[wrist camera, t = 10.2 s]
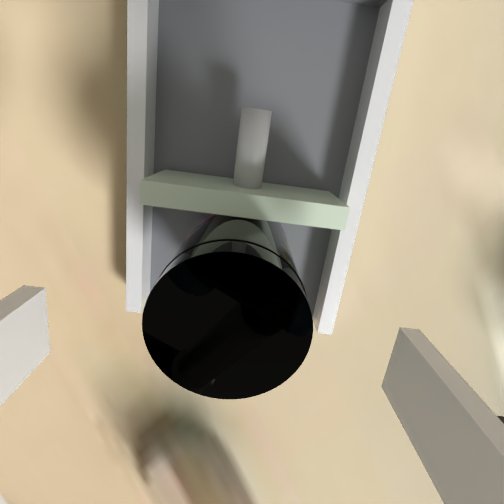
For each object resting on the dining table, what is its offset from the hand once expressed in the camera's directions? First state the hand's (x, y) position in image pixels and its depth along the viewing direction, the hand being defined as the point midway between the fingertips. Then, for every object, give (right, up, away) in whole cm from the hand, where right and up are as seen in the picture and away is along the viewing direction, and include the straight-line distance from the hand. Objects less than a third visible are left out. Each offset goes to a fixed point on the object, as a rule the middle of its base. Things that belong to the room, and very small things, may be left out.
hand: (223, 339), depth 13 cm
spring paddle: (+1, +9, +8) cm, 12 cm away
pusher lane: (+1, +10, +9) cm, 13 cm away
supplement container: (0, +4, +11) cm, 11 cm away
